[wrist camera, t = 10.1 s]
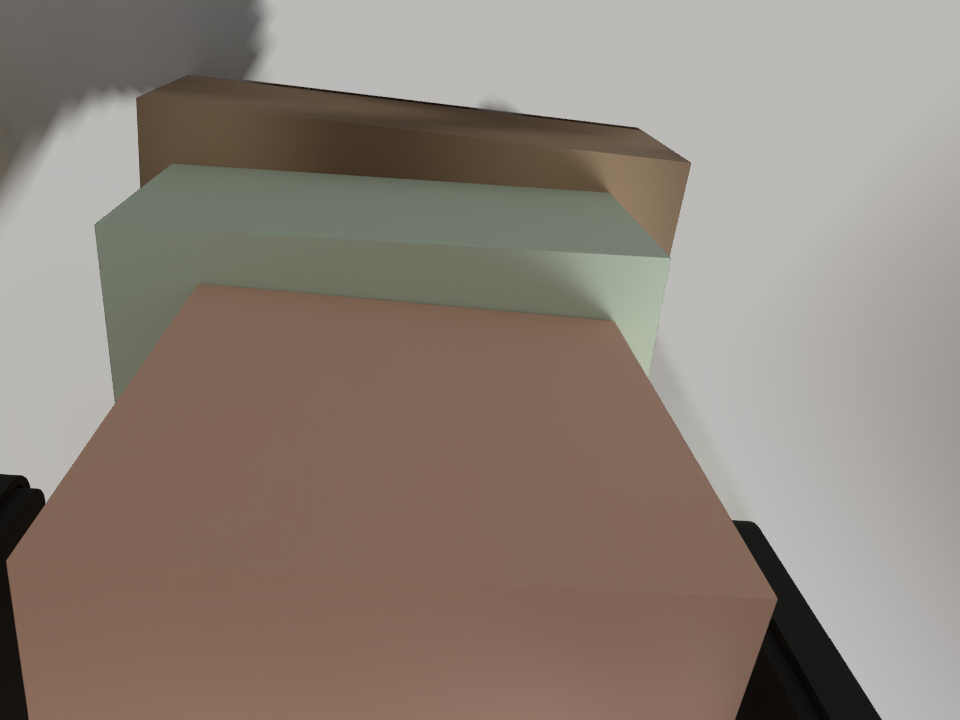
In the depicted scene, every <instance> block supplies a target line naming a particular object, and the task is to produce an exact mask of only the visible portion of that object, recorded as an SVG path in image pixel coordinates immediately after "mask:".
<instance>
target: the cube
mask: <svg viewBox="0 0 960 720" xmlns="http://www.w3.org/2000/svg"><path fill="white" fill-rule="evenodd" d="M6 564H7V571H8V577H9V584H10V591H11V598H12V605H13V612H14V619H15V626H16V633H17V640H18V647H19V654H20V661H21V668H22V675H23V682H24V689H25V696H26V703H27V710H28V717H29V720H735V718H736V715H737V713H738V710H739V707H740V704H741V701H742V698H743V696H744V693H745V690H746V687H747V684H748V681H749V679H750V676H751V673H752V670H753V667H754V665H755V662H756V659H757V656H758V653H759V650H760V648H761V645H762V642H763V639H764V636H765V633H766V631H767V628H768V625H769V622H770V619H771V617H772V614H773V611H774V608H775V605H776V602H777V600H778V598H777V597H776V595H775V593H774V591H773V590H772V588H771V586H770V585H769V583H768V581H767V580H766V578H765V576H764V574H763V573H762V571H761V569H760V568H759V566H758V564H757V563H756V561H755V559H754V557H753V556H752V554H751V552H750V551H749V549H748V547H747V546H746V544H745V542H744V541H743V539H742V537H741V535H740V534H739V532H738V530H737V529H736V527H735V525H734V524H733V522H732V520H731V518H730V517H729V515H728V513H727V512H726V510H725V508H724V507H723V505H722V503H721V501H720V500H719V498H718V496H717V495H716V493H715V491H714V490H713V488H712V486H711V484H710V483H709V481H708V479H707V478H706V476H705V474H704V473H703V471H702V469H701V467H700V466H699V464H698V462H697V461H696V459H695V457H694V456H693V454H692V452H691V450H690V449H689V447H688V445H687V444H686V442H685V440H684V439H683V437H682V435H681V433H680V432H679V430H678V428H677V427H676V425H675V423H674V422H673V420H672V418H671V416H670V415H669V413H668V411H667V410H666V408H665V406H664V405H663V403H662V401H661V399H660V398H659V396H658V394H657V393H656V391H655V389H654V388H653V386H652V384H651V382H650V381H649V379H648V377H647V376H646V374H645V372H644V371H643V369H642V367H641V365H640V364H639V362H638V360H637V359H636V357H635V355H634V354H633V352H632V350H631V348H630V347H629V345H628V343H627V342H626V340H625V338H624V337H623V335H622V333H621V331H620V330H619V328H618V326H617V325H616V323H615V321H608V320H597V319H586V318H575V317H564V316H553V315H542V314H531V313H520V312H509V311H498V310H487V309H476V308H465V307H454V306H443V305H431V304H420V303H409V302H398V301H387V300H376V299H365V298H354V297H343V296H332V295H321V294H310V293H299V292H288V291H277V290H266V289H255V288H244V287H232V286H221V285H210V284H199V283H198V285H197V286H196V287H195V289H194V290H193V292H192V293H191V295H190V296H189V298H188V299H187V300H186V302H185V303H184V305H183V306H182V308H181V309H180V311H179V312H178V313H177V315H176V316H175V318H174V319H173V321H172V322H171V324H170V325H169V326H168V328H167V329H166V331H165V332H164V334H163V335H162V337H161V338H160V339H159V341H158V342H157V344H156V345H155V347H154V348H153V350H152V351H151V352H150V354H149V355H148V357H147V358H146V360H145V361H144V363H143V364H142V365H141V367H140V368H139V370H138V371H137V373H136V374H135V376H134V377H133V378H132V380H131V381H130V383H129V384H128V386H127V387H126V389H125V390H124V391H123V393H122V394H121V396H120V397H119V399H118V400H117V402H116V403H115V404H114V406H113V407H112V409H111V410H110V412H109V413H108V415H107V416H106V418H105V419H104V420H103V422H102V423H101V425H100V426H99V428H98V429H97V430H96V432H95V433H94V435H93V436H92V438H91V439H90V441H89V442H88V443H87V445H86V446H85V448H84V449H83V451H82V452H81V454H80V455H79V456H78V458H77V459H76V461H75V462H74V464H73V465H72V467H71V468H70V470H69V471H68V472H67V474H66V475H65V477H64V478H63V480H62V481H61V482H60V484H59V485H58V487H57V488H56V490H55V491H54V493H53V494H52V495H51V497H50V498H49V500H48V501H47V503H46V504H45V506H44V507H43V508H42V510H41V511H40V513H39V514H38V516H37V517H36V519H35V520H34V521H33V523H32V524H31V526H30V527H29V529H28V530H27V532H26V533H25V534H24V536H23V537H22V539H21V540H20V542H19V543H18V545H17V546H16V547H15V549H14V550H13V552H12V553H11V555H10V556H9V558H8V559H7V560H6Z"/></svg>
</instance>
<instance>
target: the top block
mask: <svg viewBox="0 0 960 720" xmlns="http://www.w3.org/2000/svg"><path fill="white" fill-rule="evenodd" d="M95 233H96V241H97V251H98V259H99V268H100V276H101V285H102V294H103V302H104V311H105V320H106V329H107V337H108V346H109V354H110V363H111V372H112V381H113V389H114V398H115V403H116V402H117V400H118V399H119V397H120V396H121V394H122V393H123V391H124V390H125V389H126V387H127V386H128V384H129V383H130V381H131V380H132V378H133V377H134V376H135V374H136V373H137V371H138V370H139V368H140V367H141V365H142V364H143V363H144V361H145V360H146V358H147V357H148V355H149V354H150V352H151V351H152V350H153V348H154V347H155V345H156V344H157V342H158V341H159V339H160V338H161V337H162V335H163V334H164V332H165V331H166V329H167V328H168V326H169V325H170V324H171V322H172V321H173V319H174V318H175V316H176V315H177V313H178V312H179V311H180V309H181V308H182V306H183V305H184V303H185V302H186V300H187V299H188V298H189V296H190V295H191V293H192V292H193V290H194V289H195V287H196V286H197V285H198V283H199V284H210V285H221V286H232V287H244V288H255V289H266V290H277V291H288V292H299V293H310V294H321V295H332V296H343V297H354V298H365V299H376V300H387V301H398V302H409V303H420V304H431V305H443V306H454V307H465V308H476V309H487V310H498V311H509V312H520V313H531V314H542V315H553V316H564V317H575V318H586V319H597V320H608V321H615V323H616V325H617V326H618V328H619V330H620V331H621V333H622V335H623V337H624V338H625V340H626V342H627V343H628V345H629V347H630V348H631V350H632V352H633V354H634V355H635V357H636V359H637V360H638V362H639V364H640V365H641V367H642V369H643V371H644V372H645V374H646V376H647V377H649V371H650V366H651V361H652V355H653V350H654V345H655V340H656V334H657V329H658V324H659V319H660V313H661V308H662V303H663V297H664V291H665V286H666V282H667V276H668V271H669V266H670V260H671V258H670V257H669V256H668V255H667V253H666V252H665V251H664V250H663V249H662V248H661V247H660V246H659V245H658V244H657V243H656V242H655V241H654V240H653V239H652V237H651V236H650V235H649V234H648V233H647V232H646V231H645V230H644V229H643V228H642V227H641V226H640V225H639V224H638V222H637V221H636V220H635V219H634V218H633V217H632V216H631V215H630V214H629V213H628V212H627V211H626V210H625V209H624V208H623V206H622V205H621V204H620V203H619V202H618V201H617V200H616V199H615V198H614V197H613V196H612V195H611V194H610V193H607V192H592V191H577V190H562V189H547V188H533V187H518V186H503V185H488V184H473V183H458V182H443V181H428V180H413V179H398V178H383V177H368V176H353V175H338V174H323V173H308V172H293V171H278V170H263V169H248V168H233V167H218V166H203V165H188V164H173V163H172V164H171V165H170V166H168V167H167V168H166V169H165V170H163V171H162V172H161V173H159V174H158V175H157V176H156V177H154V178H153V179H152V180H151V181H149V182H148V183H147V184H145V185H144V186H143V187H142V188H140V189H139V190H138V191H137V192H135V193H134V194H133V195H131V196H130V197H129V198H128V199H126V200H125V201H124V202H123V203H121V204H120V205H119V206H117V207H116V208H115V209H114V210H112V211H111V212H110V213H109V214H107V215H106V216H105V217H103V218H102V219H101V220H100V221H98V222H97V223H96V224H95Z"/></svg>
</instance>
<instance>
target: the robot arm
mask: <svg viewBox="0 0 960 720" xmlns="http://www.w3.org/2000/svg"><path fill="white" fill-rule="evenodd" d="M44 506H45V498H44V494H43V492H42V491H41V490H40V489H33V488H30V484H29V482H28V480H27V478H25V477H24V476H21V475H4V474H0V720H29V717H28V710H27V703H26V696H25V689H24V682H23V675H22V668H21V661H20V654H19V647H18V640H17V633H16V626H15V619H14V612H13V605H12V598H11V591H10V584H9V577H8V571H7V564H6V560H7V559H8V558H9V556H10V555H11V553H12V552H13V550H14V549H15V547H16V546H17V545H18V543H19V542H20V540H21V539H22V537H23V536H24V534H25V533H26V532H27V530H28V529H29V527H30V526H31V524H32V523H33V521H34V520H35V519H36V517H37V516H38V514H39V513H40V511H41V510H42V508H43V507H44ZM732 522H733V524H734V525H735V527H736V529H737V530H738V532H739V534H740V535H741V537H742V539H743V541H744V542H745V544H746V546H747V547H748V549H749V551H750V552H751V554H752V556H753V557H754V559H755V561H756V563H757V564H758V566H759V568H760V569H761V571H762V573H763V574H764V576H765V578H766V580H767V581H768V583H769V585H770V586H771V588H772V590H773V591H774V593H775V595H776V597H777V598H778V600H777V602H776V605H775V608H774V611H773V614H772V617H771V619H770V622H769V625H768V628H767V631H766V633H765V636H764V639H763V642H762V645H761V648H760V650H759V653H758V656H757V659H756V662H755V665H754V667H753V670H752V673H751V676H750V679H749V681H748V684H747V687H746V690H745V693H744V696H743V698H742V701H741V704H740V707H739V710H738V713H737V715H736V718H735V720H882V719H881V718H880V716H879V715H878V713H877V712H876V710H875V709H874V707H873V705H872V704H871V702H870V701H869V699H868V697H867V696H866V694H865V693H864V691H863V690H862V688H861V686H860V685H859V683H858V682H857V680H856V679H855V677H854V676H853V674H852V672H851V671H850V669H849V668H848V666H847V664H846V663H845V661H844V660H843V658H842V657H841V655H840V653H839V652H838V650H837V649H836V647H835V646H834V644H833V642H832V641H831V639H830V638H829V637H828V635H827V634H826V632H825V630H824V629H823V627H822V626H821V624H820V623H819V621H818V619H817V618H816V616H815V615H814V613H813V612H812V610H811V609H810V607H809V605H808V604H807V602H806V601H805V599H804V597H803V596H802V594H801V593H800V591H799V590H798V588H797V587H796V585H795V583H794V582H793V580H792V579H791V577H790V575H789V574H788V573H787V571H786V569H785V568H784V566H783V564H782V563H781V561H780V560H779V558H778V557H777V555H776V553H775V552H774V550H773V549H772V547H771V546H770V544H769V542H768V541H767V539H766V538H765V536H764V535H763V533H762V531H761V530H760V528H759V527H758V526H757V525H756V524H755V523H753V522H751V521H736V520H732Z"/></svg>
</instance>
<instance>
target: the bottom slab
mask: <svg viewBox="0 0 960 720" xmlns="http://www.w3.org/2000/svg"><path fill="white" fill-rule="evenodd" d="M136 102H137V122H138V123H137V124H138V146H139V168H140V188H142V187H143V186H144V185H145V184H147V183H148V182H149V181H151V180H152V179H153V178H154V177H156V176H157V175H158V174H159V173H161V172H162V171H163V170H165V169H166V168H167V167H168V166H170V165H171V164H172V163H173V164H188V165H203V166H218V167H233V168H248V169H263V170H278V171H293V172H308V173H323V174H338V175H353V176H368V177H383V178H398V179H413V180H428V181H443V182H458V183H473V184H488V185H503V186H518V187H533V188H547V189H562V190H577V191H592V192H607V193H610V194H611V195H612V196H613V197H614V198H615V199H616V200H617V201H618V202H619V203H620V204H621V205H622V206H623V208H624V209H625V210H626V211H627V212H628V213H629V214H630V215H631V216H632V217H633V218H634V219H635V220H636V221H637V222H638V224H639V225H640V226H641V227H642V228H643V229H644V230H645V231H646V232H647V233H648V234H649V235H650V236H651V237H652V239H653V240H654V241H655V242H656V243H657V244H658V245H659V246H660V247H661V248H662V249H663V250H664V251H665V252H666V253H667V255H668V256H670V251H671V247H672V243H673V239H674V234H675V230H676V226H677V222H678V217H679V212H680V209H681V205H682V200H683V196H684V192H685V187H686V183H687V179H688V174H689V170H690V166H691V163H690V162H689V161H687V160H686V159H684V158H683V157H681V156H680V155H678V154H677V153H675V152H674V151H672V150H671V149H669V148H668V147H666V146H665V145H663V144H662V143H660V142H659V141H657V140H656V139H654V138H653V137H651V136H649V135H648V134H647V133H645V132H644V131H642V130H640V129H639V128H636V127H628V126H620V125H612V124H604V123H596V122H588V121H579V120H570V119H563V118H555V117H547V116H538V115H530V114H522V113H514V112H513V113H514V114H516V115H512V114H504V113H495V112H487V111H480V110H481V108H473V107H465V106H456V105H447V104H440V103H431V102H423V101H415V100H407V99H399V98H390V97H382V96H374V95H366V94H358V93H349V92H341V91H333V90H325V89H316V88H309V87H300V86H291V85H284V84H276V83H267V82H259V81H253V82H252V83H248V82H240V81H232V80H223V79H215V78H207V77H199V76H190V75H187V76H185V77H183V78H180V79H178V80H176V81H174V82H171V83H169V84H167V85H165V86H162V87H160V88H158V89H155V90H153V91H151V92H149V93H146V94H144V95H142V96H140V97H137V98H136Z"/></svg>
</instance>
